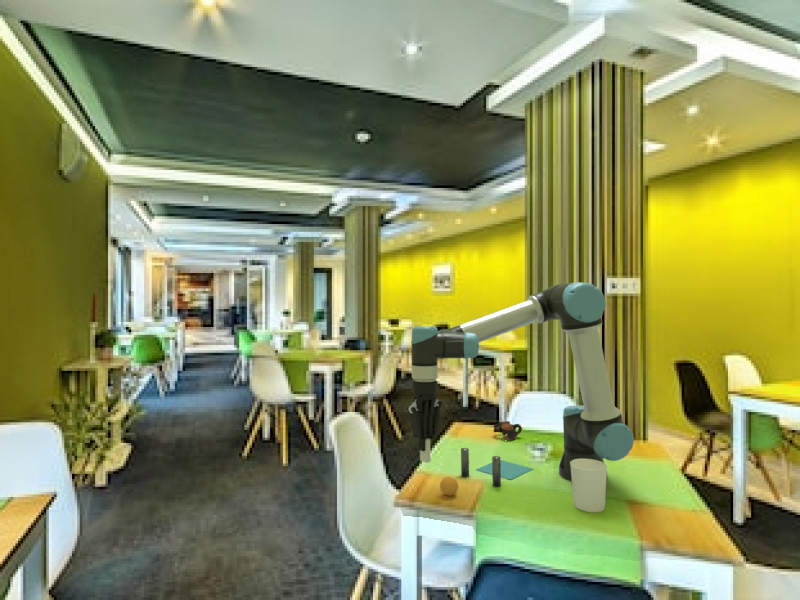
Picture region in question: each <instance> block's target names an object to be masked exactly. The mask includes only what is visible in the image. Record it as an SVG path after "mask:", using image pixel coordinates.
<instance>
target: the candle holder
mask: <svg viewBox="0 0 800 600" xmlns="http://www.w3.org/2000/svg"><path fill="white" fill-rule="evenodd" d="M570 466H571V479H572V481H571V489H572V502H573V506H574V507H575V508H576V509H577V508H578V509H577V510H579V509H580V511H582V510H583V511H582V512H585V511H586V513H595V514H596V513H600V512H603V511H604V510H605V509H606V497H607V496H606V495H607V494H606V493H607V480H606V475H607V476H608V465H607V464H606V463H605V462H604V463H603V462H601V461H597V460H593V459H575V460H572V461H571V462H570Z"/></svg>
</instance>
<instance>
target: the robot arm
mask: <svg viewBox="0 0 800 600" xmlns="http://www.w3.org/2000/svg"><path fill="white" fill-rule="evenodd" d="M604 311H606V298H605V296H604V293H603V292H602V290H601V289H600V288H599V287H597V286H596V285H594V284H592V283H588V282H583V281H582V282H581V281H578V282H569V283H558V284H555V285H552V286H551V287H548V288H546V289H544V290H542V291H540V292H537V293H535V294H532V295H529V296H528V298H527V299H526V300H524V301H522V302H519V303H517V304H514V305H511V306H507V307H506V308H503V309H500V310H498V311H497V310H496V311H494V312H492V313H487V314H486V315H484V316H480V317H478V318H474V319H472V320H470V321H466V322H464V323H461V324H459V325H456V326H453V327H451V328H447V329H446V328H443V329H441V330H439V331H438V328H437V326H434V325H433V326H432V325H428V326H427V325H419V326H414V327H413V328H412V330H411V341H410V344H411V345H410V346H411V378H412V379H413V380H411V393H412V394H413V398H412V403H411V405H407V406H406V411H407V412H408V415H409V420H410V425H411V426H410V427H411V431H412V432H411V433H412V436H413V438H415V439H417V440H418V451H419V461H420V462H423V463H425V464H427V463H431V450H432V440H433V439H435V435H436V434H437V431H438V424H439V419H440V418H439V417H440V412H441V411H440V410H441V407H442V405H443V401H442V400H439V399H437V395H436V394H438V392H439V391H438V390H439V388H438V385H439V381H438V380H437V379H438V378H439V376H438V375H439V374H438V373H439V371H438V365H439V364H438V360H439V359H441V360H442V359H465V360H467V359H473V358H476V357H477V356H478V355H479V351H480V350H479V349H480V348H479V347H480V344H479V343H482V342H486V341H487V340H490V339H493V338H496V337H499V336H501V335H504V334H507V333H509V332H512V331H514V330H518V329H520V328H522V327H526V326H528V325H531V324H533V323H537V324H543V323H545V322H549V321H560V326H561V330H562V331H563V332H565V333H566V334H567V335H568V339H569V343H570V347H571V353H572V356H573V361H574V367H575V372H576V376H577V380H578V381H577V382H578V386H579V391H580V394H581V399H582V403H583V405H567V406H566V407H564V408H563V415H562V419H563V424H562V425H563V426H562V427H563V452H562V455H561V459H560V462H559V465H558V474H559V476H561V478H563V479H566V480H569V481H571V482H572V479H571V466H570V462H571V461H572V460H575V459H593V460H597V461H601V462H603V463H605V461H604V460H606V461H611V462H616V461H620V460H622V459H624V458H625V457H627V456H628V455H629V453H630V451H631V450H633V447H634V441H635V439H634V434H633V431H632V429H631V428H629V426H628V425H627V424H625V423H624V420H623V416H622V412H621V410H620V409H619V408H618V407H616V406H615V404H614V398H613V394H612V391H611V385H610V380H609V375H608V371H607V366H606V361H605V356H604V350H603V346H602V342H601V338H600V337H601V336H600V332H599V329H600V328H601V326H602V325H603V320H602V316H603V315H604ZM607 480H608V474H607V475H606V481H607Z"/></svg>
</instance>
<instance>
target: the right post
mask: <svg viewBox="0 0 800 600" xmlns="http://www.w3.org/2000/svg"><path fill="white" fill-rule="evenodd" d="M501 460H502V459H501V456H498V455H492V457H491V463H492V474H491V477H492V486H493V487H494V486H495V487H494V488H500V486H501V487H502V477H501Z"/></svg>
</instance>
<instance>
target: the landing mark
mask: <svg viewBox="0 0 800 600" xmlns="http://www.w3.org/2000/svg"><path fill="white" fill-rule="evenodd" d="M500 460H501V479H505V478H506V480H509V479H510V480H509V481H512V480H514V479H516V478H518V477H520V476H522V475H525V474H526V473H528V472H531V471H532V470H534V468H532V467H528V466H525V465H521V464H518V463H513V462H509V461H506V460H503V459H500ZM475 470H476V471H478V472H481V473H485V474H489V475H492V462H490V463H488V464H485V465H483V466H480V467H478V468H476V469H475Z"/></svg>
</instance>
